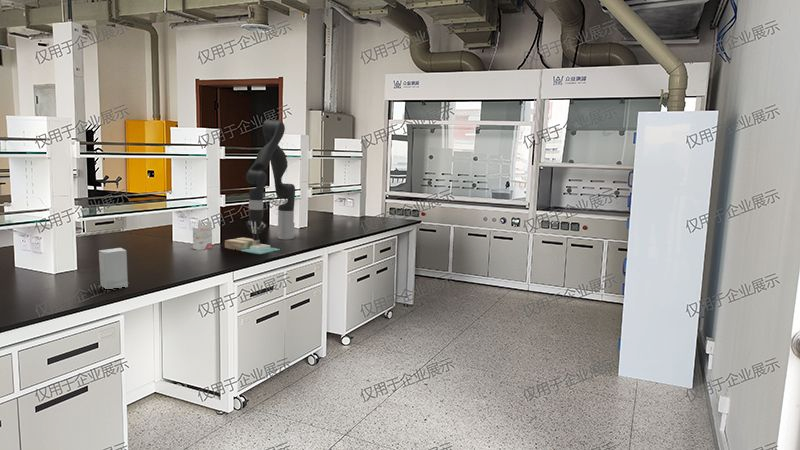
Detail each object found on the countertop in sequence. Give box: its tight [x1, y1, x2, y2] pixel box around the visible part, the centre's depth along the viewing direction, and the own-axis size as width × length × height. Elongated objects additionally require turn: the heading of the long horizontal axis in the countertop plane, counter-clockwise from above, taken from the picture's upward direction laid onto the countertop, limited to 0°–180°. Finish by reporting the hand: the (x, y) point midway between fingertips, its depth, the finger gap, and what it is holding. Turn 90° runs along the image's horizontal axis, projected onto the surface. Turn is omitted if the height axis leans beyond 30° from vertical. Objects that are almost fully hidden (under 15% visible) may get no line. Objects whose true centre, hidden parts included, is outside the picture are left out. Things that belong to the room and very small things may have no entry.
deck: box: [224, 236, 261, 251], centre depth 303 cm, size 14×12×4 cm
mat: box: [240, 246, 281, 255], centre depth 297 cm, size 16×13×1 cm
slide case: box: [250, 243, 271, 251], centre depth 297 cm, size 9×6×2 cm, turn 153°
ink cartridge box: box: [192, 220, 213, 251], centre depth 294 cm, size 9×5×15 cm, turn 143°
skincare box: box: [98, 247, 129, 290], centre depth 211 cm, size 8×6×15 cm
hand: (255, 240), depth 298 cm, fingers closed
